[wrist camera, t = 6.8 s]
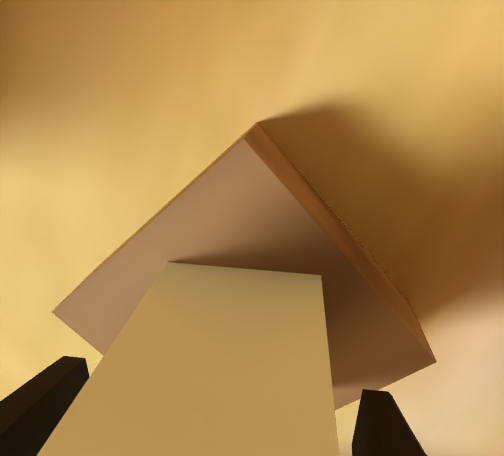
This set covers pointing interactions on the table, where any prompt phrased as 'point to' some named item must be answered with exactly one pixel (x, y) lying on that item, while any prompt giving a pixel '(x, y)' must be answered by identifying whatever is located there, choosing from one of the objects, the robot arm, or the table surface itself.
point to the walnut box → (262, 264)
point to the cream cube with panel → (211, 372)
